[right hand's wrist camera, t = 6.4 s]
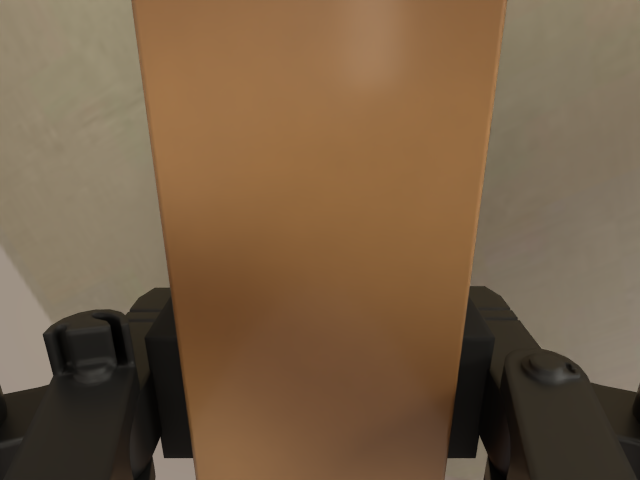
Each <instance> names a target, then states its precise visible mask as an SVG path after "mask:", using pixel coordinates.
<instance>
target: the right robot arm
mask: <svg viewBox="0 0 640 480" xmlns="http://www.w3.org/2000/svg"><path fill="white" fill-rule="evenodd" d="M43 337H44V341H45V345H46V349H47V352H48V357H49V361H50V364H51V368H52V372H53V378H52V380H51V382H50V384H49V385H46V386H42V387H38V388H33V389H28V390H23V391H18V392H13V393H8V394H3V392H2V389H1V386H0V480H155V469H154V463H153V457H152V455H153V453H154V451H155V448H156V446H157V444H158V441H159V439H160V436H161V442H162V448H163V455H164V458H193V452H192V445H191V437H190V430H189V423H188V415H187V408H186V401H185V393H184V386H183V378H182V371H181V364H180V356H179V349H178V341H177V334H176V327H175V319H174V312H173V304H172V297H171V290H170V288H154V289H152V290H151V291H149V292H147V293H146V294H144V295H143V296H141V297H139V298H138V300H137V301H136V302H135V304H134V305H133V306H132V308H131V309H130V312H128V313H127V314H126V315H124V314H123V313H122V312H119V311H114V310H110V309H109V310H91V311H86V312H81V313H77V314H74V315H72V316H69V317H66V318H63V319H62V320H60V321H58V322H57V323H55V324H53V325H51V326H50V327H49V328H48V329H47V330H46V331H45V332H44V334H43ZM479 435H480V437H481V440H482V442H483V444H484V447H485V449H486V451H487V454H488V457H487V463H486V469H485V474H484V480H640V384H639V388H638V391H637V392H632V391H627V390H622V389H617V388H612V387H607V386H602V385H598V384H594V383H590V381H589V379H588V377H587V375H586V374H585V373H584V371H583V370H582V369H581V368H580V366H579V365H577V364H576V363H574V362H573V361H571V360H570V359H568V358H567V357H564V356H562V355H560V354H557V353H555V352H552V351H548V350H544V349H541V348H540V346H539V345H538V344H537V343H536V341H535V340H534V339H533V337H532V336H531V335H530V333H529V332H528V331H527V330H526V328H525V327H524V326H523V324H522V323H521V322H520V320H518V318H517V317H516V315H515V314H514V313H513V311H512V310H510V307H509V306H508V305H507V304H506V302H505V301H504V300H503V298H502V297H501V296H500V295H498V294H496V293H495V292H493V291H492V290H490V289H488V288H487V287H485V286H470V288H469V296H468V303H467V311H466V319H465V326H464V334H463V341H462V349H461V357H460V364H459V372H458V380H457V387H456V395H455V402H454V410H453V418H452V425H451V433H450V441H449V448H448V456H447V458H476V452H477V446H478V440H479Z"/></svg>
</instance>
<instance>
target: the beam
mask: <svg viewBox="0 0 640 480" xmlns="http://www.w3.org/2000/svg"><path fill="white" fill-rule="evenodd" d="M131 1H132V9H133V16H134V24H135V31H136V38H137V46H138V53H139V61H140V68H141V75H142V83H143V90H144V97H145V105H146V112H147V120H148V127H149V134H150V142H151V149H152V157H153V164H154V171H155V179H156V186H157V194H158V201H159V208H160V216H161V223H162V231H163V238H164V245H165V253H166V260H167V267H168V275H169V282H170V290H171V297H172V304H173V312H174V319H175V327H176V334H177V341H178V349H179V356H180V364H181V371H182V378H183V386H184V393H185V401H186V408H187V415H188V423H189V430H190V437H191V445H192V452H193V460H194V467H195V474H196V480H444V478H445V471H446V463H447V456H448V448H449V441H450V433H451V425H452V418H453V410H454V402H455V395H456V387H457V380H458V372H459V364H460V357H461V349H462V341H463V334H464V326H465V319H466V311H467V303H468V296H469V288H470V280H471V273H472V265H473V258H474V250H475V242H476V235H477V227H478V219H479V212H480V204H481V197H482V189H483V181H484V174H485V166H486V158H487V151H488V143H489V136H490V128H491V120H492V113H493V105H494V97H495V90H496V82H497V75H498V67H499V59H500V52H501V44H502V36H503V29H504V21H505V14H506V6H507V0H131Z"/></svg>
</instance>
